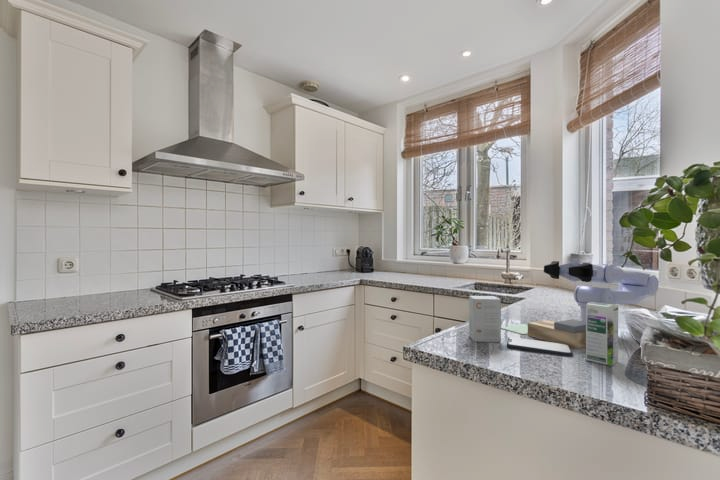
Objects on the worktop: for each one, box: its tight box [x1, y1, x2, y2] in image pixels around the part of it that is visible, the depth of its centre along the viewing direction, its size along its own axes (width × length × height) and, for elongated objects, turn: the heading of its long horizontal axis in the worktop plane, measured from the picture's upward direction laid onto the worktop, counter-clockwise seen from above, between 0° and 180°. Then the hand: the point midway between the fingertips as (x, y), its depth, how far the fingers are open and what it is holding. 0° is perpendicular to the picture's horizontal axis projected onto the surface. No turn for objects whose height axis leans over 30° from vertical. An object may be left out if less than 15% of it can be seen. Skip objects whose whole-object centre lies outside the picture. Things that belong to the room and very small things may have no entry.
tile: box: [554, 318, 586, 334], centre depth 101 cm, size 9×6×2 cm, turn 117°
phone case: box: [506, 336, 573, 357], centre depth 96 cm, size 9×2×16 cm
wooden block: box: [527, 319, 586, 350], centre depth 105 cm, size 10×15×4 cm, turn 27°
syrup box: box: [585, 302, 619, 367], centre depth 86 cm, size 6×6×14 cm
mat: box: [501, 323, 528, 336], centre depth 116 cm, size 12×9×1 cm
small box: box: [468, 295, 502, 343], centre depth 104 cm, size 8×6×13 cm
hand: (556, 270), depth 101 cm, fingers open, 7 cm apart
